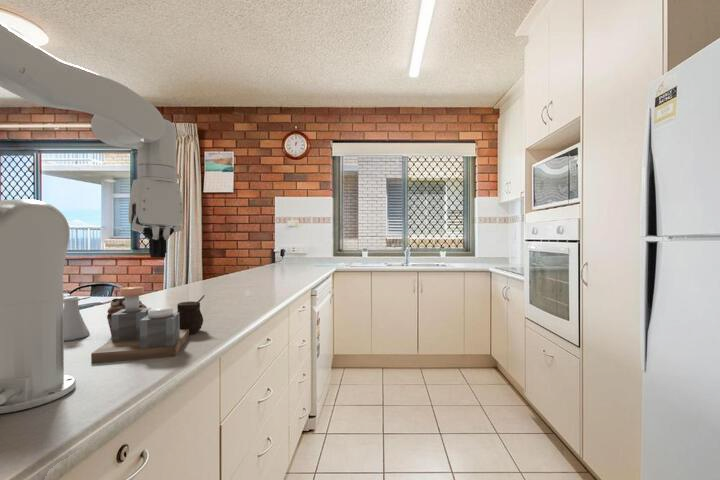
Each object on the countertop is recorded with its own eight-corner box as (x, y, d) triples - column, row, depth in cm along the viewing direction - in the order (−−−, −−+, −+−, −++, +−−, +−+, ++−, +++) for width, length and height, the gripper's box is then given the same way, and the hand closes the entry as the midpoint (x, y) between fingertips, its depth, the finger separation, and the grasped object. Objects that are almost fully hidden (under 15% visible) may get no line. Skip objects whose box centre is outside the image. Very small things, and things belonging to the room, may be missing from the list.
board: (175, 356, 77) (175, 319, 77) (91, 363, 73) (91, 323, 73) (188, 336, 92) (188, 305, 92) (119, 341, 87) (119, 309, 87)
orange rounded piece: (140, 314, 83) (140, 289, 83) (116, 315, 82) (116, 289, 82) (146, 310, 88) (146, 286, 88) (124, 311, 87) (124, 287, 87)
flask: (96, 334, 94) (96, 296, 94) (71, 342, 87) (71, 301, 87) (71, 333, 95) (71, 296, 95) (44, 341, 88) (44, 301, 88)
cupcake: (136, 339, 90) (136, 299, 90) (97, 339, 90) (97, 299, 90) (157, 329, 100) (157, 293, 99) (122, 329, 99) (122, 293, 99)
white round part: (170, 337, 78) (170, 310, 78) (145, 339, 77) (145, 311, 77) (175, 331, 83) (174, 306, 83) (151, 333, 81) (151, 307, 81)
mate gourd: (173, 330, 98) (174, 294, 98) (204, 328, 101) (204, 292, 101) (172, 337, 91) (173, 298, 91) (204, 334, 95) (205, 296, 95)
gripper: (178, 181, 88) (179, 255, 88) (112, 172, 75) (112, 258, 75) (198, 179, 84) (198, 256, 85) (131, 168, 71) (131, 260, 72)
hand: (157, 257), depth 80 cm, fingers closed
